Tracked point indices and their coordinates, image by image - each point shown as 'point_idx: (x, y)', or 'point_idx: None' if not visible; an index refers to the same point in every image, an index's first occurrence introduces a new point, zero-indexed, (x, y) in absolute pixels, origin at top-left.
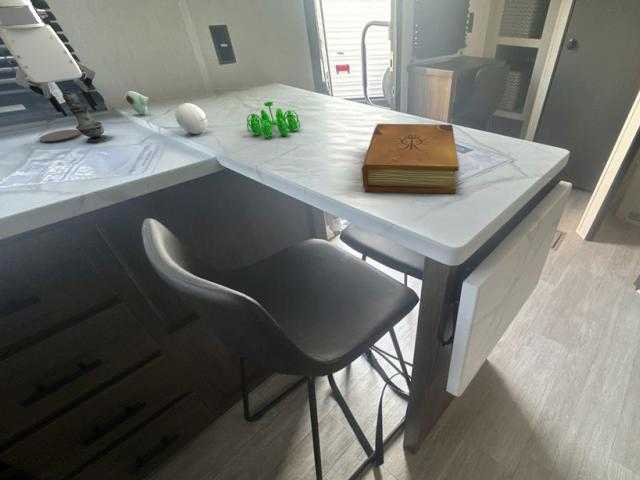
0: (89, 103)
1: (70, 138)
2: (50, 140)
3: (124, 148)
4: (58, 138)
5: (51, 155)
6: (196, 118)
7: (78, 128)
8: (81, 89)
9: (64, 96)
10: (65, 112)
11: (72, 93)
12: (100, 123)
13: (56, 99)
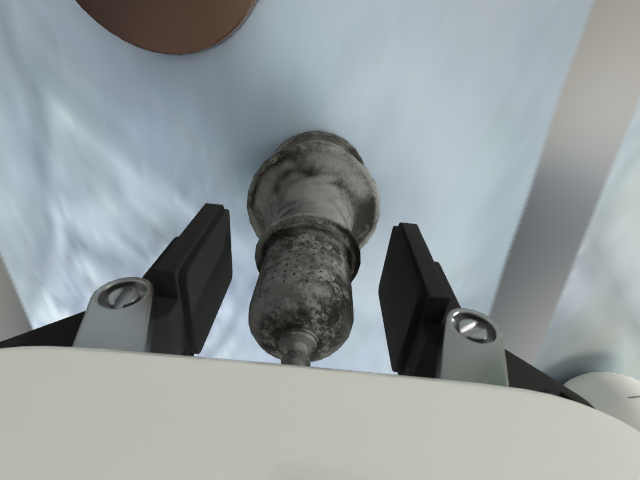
0: (384, 320)
1: (204, 48)
2: (102, 21)
3: (351, 342)
4: (143, 16)
5: (130, 229)
6: None
7: (257, 229)
8: (415, 376)
9: (260, 345)
10: (226, 287)
11: (328, 353)
12: (367, 230)
13: (199, 348)
